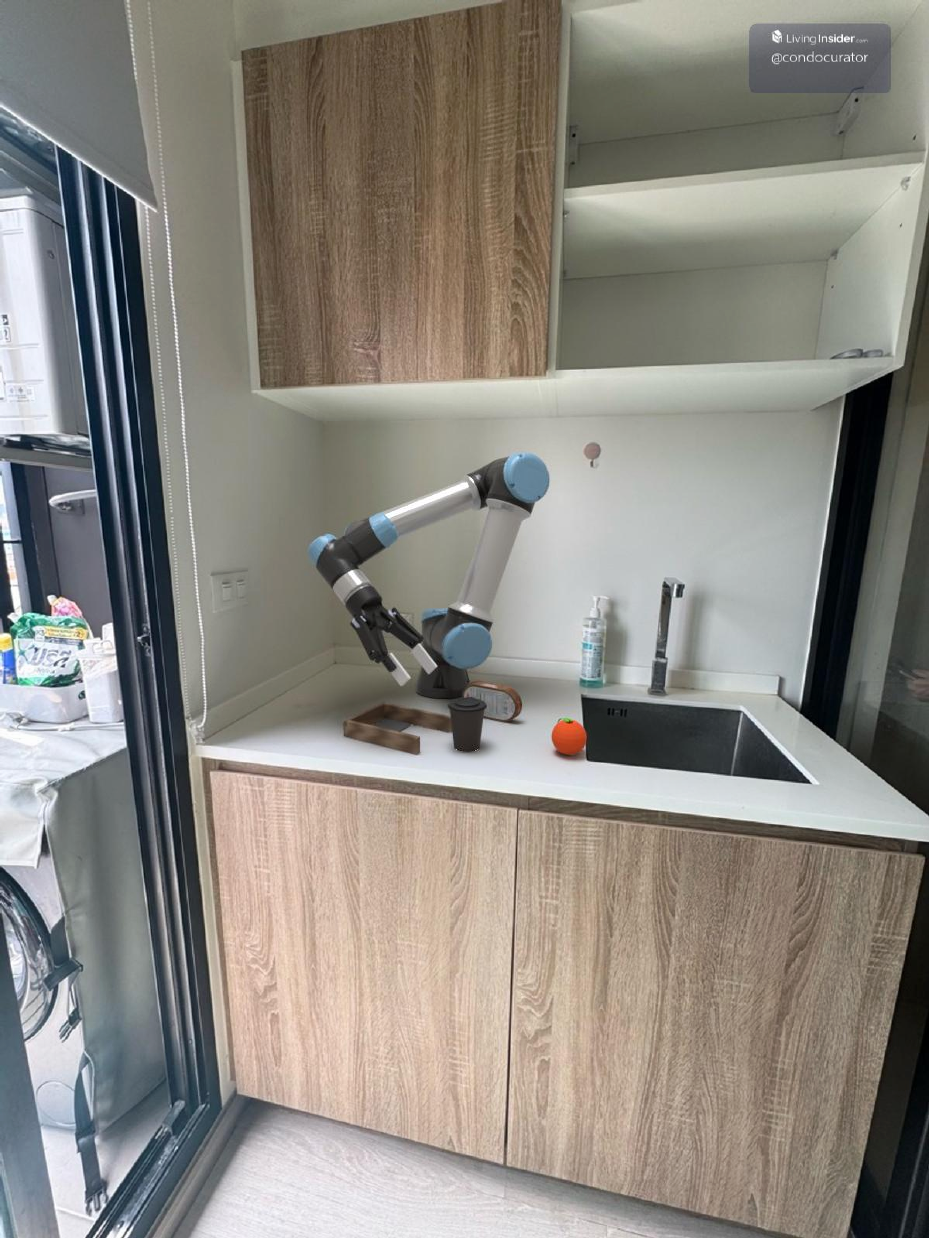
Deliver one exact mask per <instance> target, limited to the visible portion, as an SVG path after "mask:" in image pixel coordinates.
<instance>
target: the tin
mask: <svg viewBox="0 0 929 1238" xmlns="http://www.w3.org/2000/svg"><path fill="white" fill-rule="evenodd" d="M465 697H474V698H476V699H480V700H482V701H484V702H485V703H486V705H487V708H486V709H485V710H484V717H483V719H489V720H493V721H497V722H502V723H508V722H510V721H513V720H514V719H516V718H517V717H519V715H521V713H522V710H523V702H522V698H521V695H520V694H519V693H518V692H517V690H515V688H513V687H512V686H509V685H504V684H501V683H500V684H499V683H493V682H488V681H485V680H484V681H483V680H473V681H472V682H470V684H469V685H468V686H467V687H466V688H465V689H464V690H463V694H462V696H461V698H465Z"/></svg>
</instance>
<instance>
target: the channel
mask: <svg viewBox="0 0 929 1238" xmlns="http://www.w3.org/2000/svg"><path fill="white" fill-rule="evenodd" d="M385 719H391V720H395V721H400V722H404V723H409V724H411V726H412V725H413V726H418V727H421V726H422V727H421V728H426V729H430V730H435V729H436V730H435V731H439V730H440V732H444V733H448V732H451V733H452V726H451V717H450V715H447V714H443V713H442V714H441V713H439V712H434V711H433V712H432V711H428V710H423V709H418V708H413V707H408V706H404V705H398V704H394V703H390V702H389V703H388V702H384V701H383V702H381V703H379V704H377V705H375V706H373V707H370V708H368V709H366V710H364V711H362V712H360V713H358V714H355V715H353V716H351V717H349V718H346V719H343V722H342V723H343V725H342V726H343V730H342V731H343V737H344V736H346V737H345V738H348V737H349V739H354V740H356V739H357V741H361V742H366V743H369V744H373V745H375V746H376V745H377V746H381V747H386V748H389V749H392V750H396V751H401V752H403V753H407V754H408V753H409V754H412V755H416V756H418V755H420V754H421V736H419V735H414V734H410V733H406V732H403V731H400V732H398V731H394V730H390V729H386V728H381V727H377V726H373V725H375V724H377V723H379V722H381V721H383V720H385ZM419 753H420V754H419Z"/></svg>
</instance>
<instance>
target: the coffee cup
mask: <svg viewBox="0 0 929 1238" xmlns="http://www.w3.org/2000/svg"><path fill="white" fill-rule="evenodd" d="M447 708H448V710H449V714H450V715H449V716H450V717H451V726H452V732H451V733H452V741H453V748H454V749H455V750H456V749H457V750H456V751H458V752H461V753H473V752H476V751H478V750H479V749H480V748H481V741H482V740H481V739H482V733H483V724H484V718H483V717H484V710H485V709H486V708H487V705H486V703H485V702H484V701H482V700H480V699H476V698H474V697H465V698H462V697H457V698H453V699H452V700H450V701H449V702H448V704H447ZM477 749H478V750H477ZM475 750H476V751H475Z"/></svg>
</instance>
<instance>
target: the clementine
mask: <svg viewBox="0 0 929 1238" xmlns="http://www.w3.org/2000/svg"><path fill="white" fill-rule="evenodd" d="M585 729H586V728H584V726H583V725H582V724H581V723H579V722H578V721H577V720H575V719H571V718H569V717H564V718H563V717H562V718H558V721H557V723H556V724H555V725H554V727H553V729H552V731H551V742H552V744H553V747H554V748H555V749H556V750H557V751H558V752H560V753H561V754H563V755H567V756H572V755H576V754H579V753H580V752H581V751H583V749H585V746H586V744H587V739H588V738H587V736H588V735H587V732H586V730H585Z"/></svg>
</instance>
